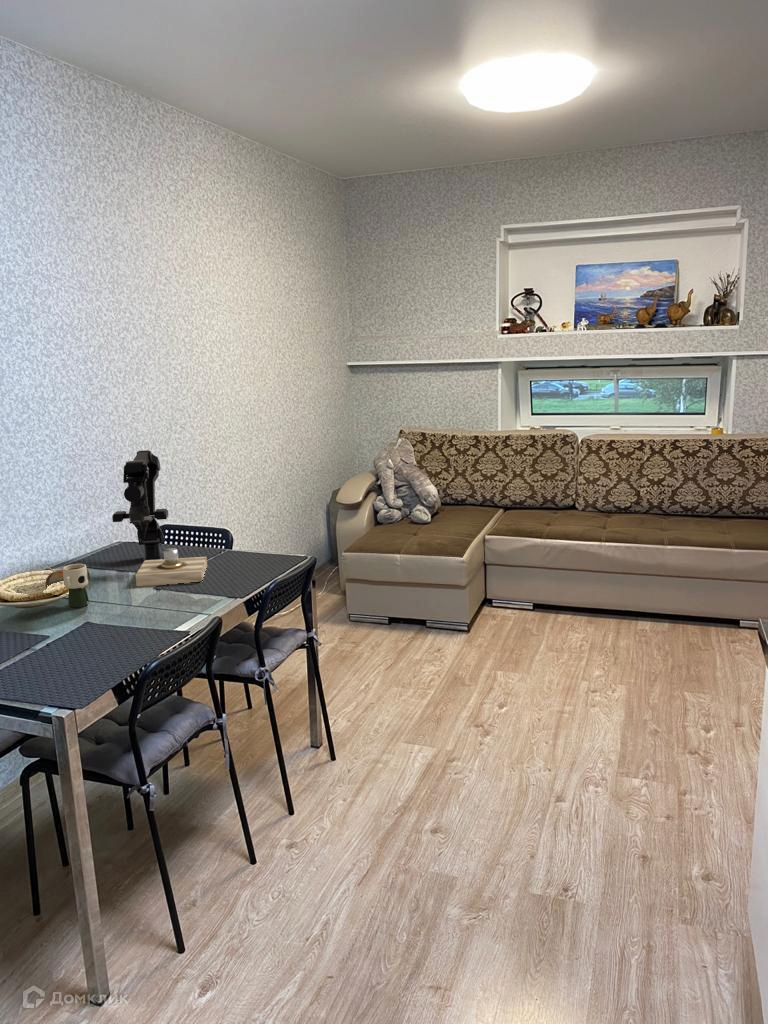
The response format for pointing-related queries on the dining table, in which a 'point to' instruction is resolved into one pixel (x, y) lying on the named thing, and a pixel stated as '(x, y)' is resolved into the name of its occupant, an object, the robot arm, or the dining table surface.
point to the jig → (171, 572)
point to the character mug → (76, 584)
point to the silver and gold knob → (171, 559)
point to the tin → (59, 577)
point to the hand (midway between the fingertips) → (143, 538)
